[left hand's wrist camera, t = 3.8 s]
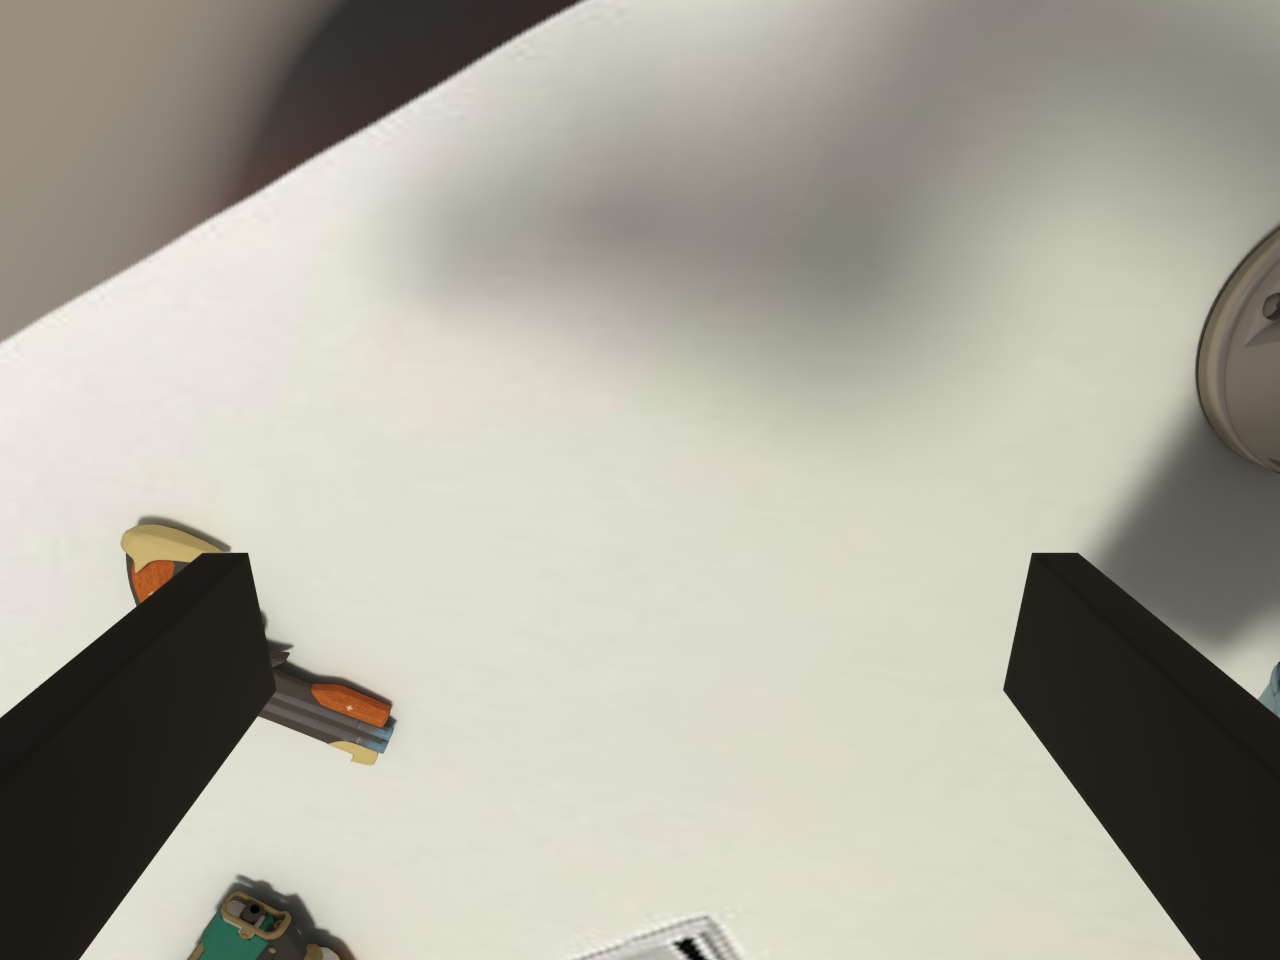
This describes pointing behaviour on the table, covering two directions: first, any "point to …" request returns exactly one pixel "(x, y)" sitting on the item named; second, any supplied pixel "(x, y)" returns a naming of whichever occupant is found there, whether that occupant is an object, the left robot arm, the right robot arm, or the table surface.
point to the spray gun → (254, 935)
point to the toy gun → (295, 702)
